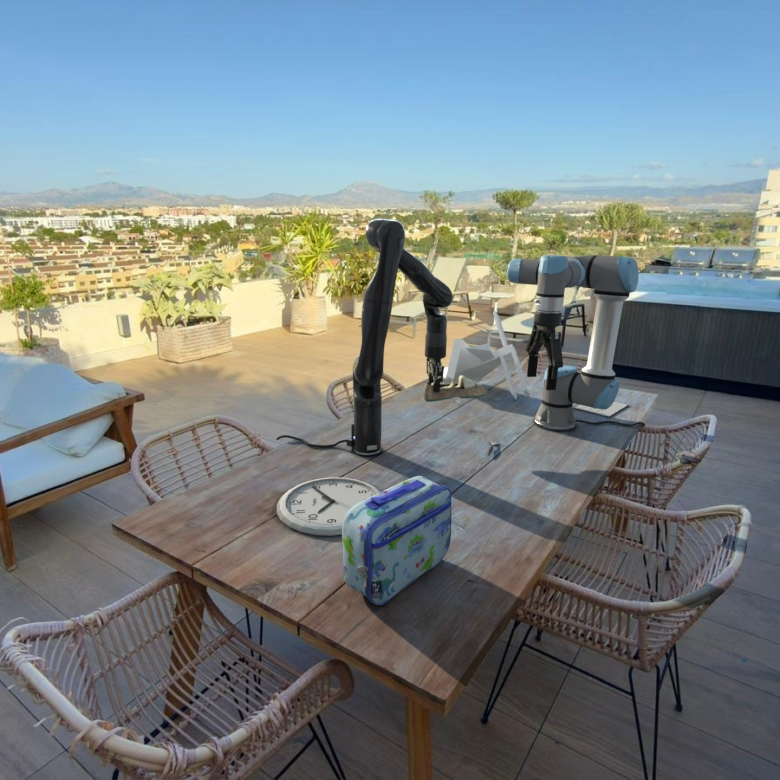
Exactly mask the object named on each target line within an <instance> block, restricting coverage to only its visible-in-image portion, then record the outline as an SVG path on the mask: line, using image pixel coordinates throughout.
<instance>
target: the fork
mask: <svg viewBox="0 0 780 780" xmlns="http://www.w3.org/2000/svg"><path fill="white" fill-rule="evenodd" d="M499 440H500V436H492V437H491V440H490V445H491V446H490V447H489V449H488V452H487V453H488V454H487V456H490V455H491V453H492V452H493V450H494V446H495V445H498V444H499Z"/></svg>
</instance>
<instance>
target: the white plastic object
mask: <svg viewBox="0 0 780 780" xmlns="http://www.w3.org/2000/svg"><path fill="white" fill-rule="evenodd" d="M492 315H493V319H494V321H495V324H496V325H495V326H496V328H497V332H498V335H499V338H500V342H501V345H502V347H500V348H498V349H496V350H495V349H493V348H492V347H491V346H490V344H489V343H488V342H487V343H483V344H479V345H473V346H469V345H468V343H466V342H465V340H464V339H463V338H460V339H458V338H454V340H453V344H452V349H451V353H450V357H449V362H448V366H446V367H444V374H443V378H445V377H451V378H452V380H453V382H454V384H458V379H459V376H460V375H463V376H465V377H466V378H467V379H470V380H471V381H473V382H474V383H476V384H477V383H480V382H482V381H484V378H485V377H486V376H487V375H489V374H490V373H492V372H494V371H495V370H496V369H497V368H499V367H500V366H502V370H503V373H504V376H505V380H506V383H507V386H508V390H509V393H510V394H511V395H512V397H513V398H514V399H515V400H517V392H516V391H517V390H516V388H515V385H514V381H513V378H512V375H511V371H510V369H509V365H508V361H510V360H513V363H514V366H515V369H516V372H517V376H518V380H519V382H520V385H521V389H522V391H523V393H524V395H525V396H526V397H528V396H531V395H530V390H529V388H528V387H529V386H528V384H527V381H526V378H525V375H524V371H523V369H522V368H523V367H522V366H521V362H520V359H519V355H518V352H517V349H516V347H515V346H514V345H513V343H511V344H508V341H507V337H506V334H505V331H504V328H503V325H502V321H501V318H500V315H499V314H498V312H497V311H496V310H495V311H492ZM451 378H449V379H447V380H446V381H444V382H443V384H451V383H452V381H451Z"/></svg>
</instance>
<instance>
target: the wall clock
mask: <svg viewBox="0 0 780 780" xmlns="http://www.w3.org/2000/svg"><path fill="white" fill-rule="evenodd" d="M380 492H382V491H381V490H380V489H379V488H377V487H376V486H374V485H372V484H371V483H369V482H365V481H362V480H359V479H355V478H349V477H338V476H337V477H335V476H333V477H332V476H331V477H322V478H317V479H312V480H307V481H305V482H302V483H299V484H297V485H295V486H293V487H292V488H290V489H288V490H287V491H286V492H285V493H284V494H283V495H281V496H280V498H279V499H278V502H277V503H276V515H277V517H278V518H279V520H280V521H281V522H282V523H283V524H285V525H286V526H287V527H288V528H290V529H293V530H295V531H297V532H299V533H303V534H308V535H312V536H327V537H328V536H329V537H331V536H332V537H333V536H342V525H343V521H344V518H345V516H346V514H347V512H348V511H349V510H350V509H351V508H352V507H353V506H354V505H356V504H358V503H360V502H362V501H364V500H366V499H368V498H370V497H372V496H374V495H376V494H378V493H380Z"/></svg>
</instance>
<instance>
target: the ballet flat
mask: <svg viewBox="0 0 780 780" xmlns="http://www.w3.org/2000/svg"><path fill="white" fill-rule="evenodd" d="M449 378H451V377H445V378H443V382H440V392H434V391H433V385H434V382H433V383H429V382H428V381H426V382H425V383H424V385H423V390H422V393H421V396H422V399H424V401H425V402H427V403H434V402H440V401H445V400H450V399H453V398H460V399H477V398H483V397H486V395H487V394H488V390H487V389H486V388H484V387H482V386H481V385H480V384H477V383H474V382H473V381H471V380H470V379H467V378H466V377H465V376H463V375H460V376H459V379H458V384H454V382H453V380H452V378H451V381H452V383H451V384H444V381H446V380H447V379H449Z"/></svg>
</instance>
